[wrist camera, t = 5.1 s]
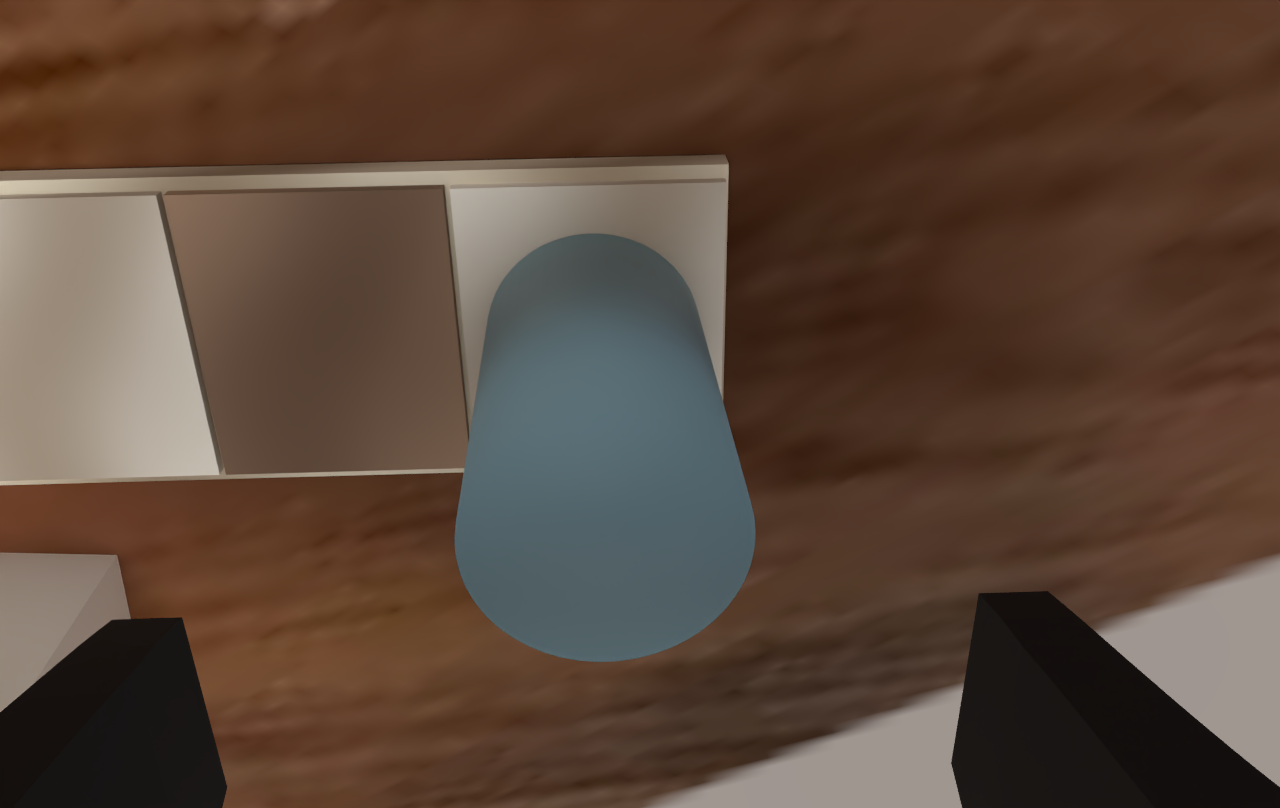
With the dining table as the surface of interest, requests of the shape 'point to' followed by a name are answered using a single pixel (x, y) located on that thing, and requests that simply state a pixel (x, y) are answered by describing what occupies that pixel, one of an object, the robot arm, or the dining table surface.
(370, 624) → the dining table surface
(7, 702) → the die
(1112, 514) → the dining table surface
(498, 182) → the board
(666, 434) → the blue capsule cylinder
